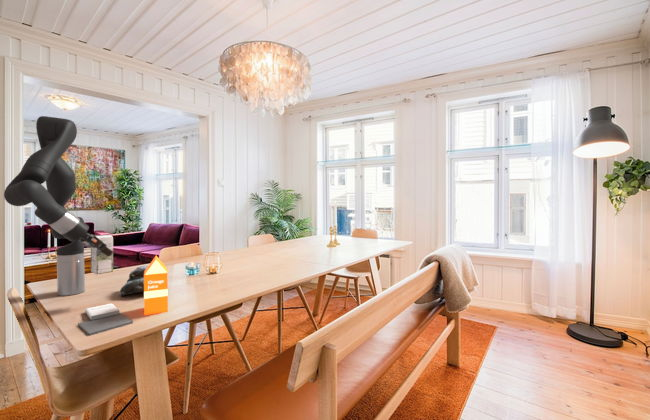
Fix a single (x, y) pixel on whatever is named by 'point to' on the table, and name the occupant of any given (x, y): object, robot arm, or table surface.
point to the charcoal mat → (104, 324)
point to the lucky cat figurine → (134, 282)
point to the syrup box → (102, 257)
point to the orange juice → (155, 288)
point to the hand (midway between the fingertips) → (107, 253)
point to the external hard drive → (102, 311)
